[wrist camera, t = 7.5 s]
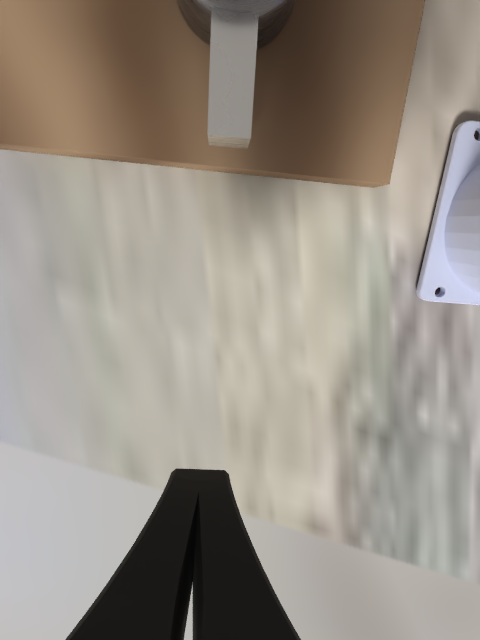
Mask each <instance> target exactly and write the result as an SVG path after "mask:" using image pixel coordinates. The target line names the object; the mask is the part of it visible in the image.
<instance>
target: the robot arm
mask: <svg viewBox="0 0 480 640" xmlns="http://www.w3.org/2000/svg"><path fill="white" fill-rule="evenodd" d="M476 130H477V131H478V132H479V138H478V140H475V138H474V133H475V131H476ZM438 287H440V293H439V294H438V295H435V291H436V289H437V288H438ZM417 295H418V297H419V298H420V299H423V300H425V301H433V302H446V303H459V304H472V305H480V121H474V120H469V121H465V122H463V123H461V124H459V125H458V126H457V127H456V128H455V130H454V132H453V135H452V140H451V144H450V148H449V153H448V157H447V161H446V165H445V170H444V174H443V178H442V183H441V187H440V191H439V196H438V200H437V204H436V208H435V213H434V217H433V221H432V226H431V230H430V234H429V239H428V243H427V247H426V251H425V256H424V260H423V264H422V269H421V273H420V277H419V282H418V286H417ZM192 582H193V640H301V639H300V638H299V636H298V634H297V632H296V631H295V629H294V627H293V625H292V624H291V622H290V620H289V618H288V616H287V614H286V613H285V611H284V609H283V607H282V605H281V604H280V601H279V600H278V597H277V595H276V594H275V592H274V590H273V588H272V586H271V584H270V582H269V580H268V577H267V575H266V573H265V572H264V569H263V567H262V565H261V563H260V561H259V558H258V556H257V554H256V552H255V549H254V547H253V545H252V542H251V540H250V538H249V535H248V533H247V531H246V528H245V526H244V523H243V520H242V518H241V515H240V512H239V509H238V507H237V504H236V501H235V498H234V494H233V491H232V487H231V483H230V479H229V474H228V473H227V472H226V471H225V470H200V469H175V470H174V471H173V472H172V473H171V475H170V478H169V480H168V483H167V485H166V487H165V489H164V491H163V494H162V495H161V497H160V499H159V501H158V503H157V505H156V507H155V509H154V510H153V512H152V514H151V516H150V518H149V519H148V521H147V523H146V524H145V526H144V528H143V529H142V531H141V533H140V534H139V536H138V538H137V539H136V541H135V543H134V544H133V546H132V547H131V549H130V550H129V552H128V553H127V555H126V556H125V558H124V559H123V561H122V563H121V564H120V565H119V567H118V568H117V570H116V571H115V573H114V574H113V576H112V577H111V579H110V580H109V582H108V583H107V585H106V586H105V587H104V589H103V590H102V592H101V593H100V594H99V596H98V597H97V599H96V600H95V601H94V603H93V604H92V606H91V607H90V608H89V610H88V611H87V612H86V614H85V615H84V616H83V618H82V619H81V620H80V621H79V623H78V624H77V625H76V627H75V628H74V629H73V631H72V632H71V633H70V635H69V636H68V637H67V638H66V640H184V633H185V627H186V621H187V614H188V608H189V601H190V595H191V589H192Z"/></svg>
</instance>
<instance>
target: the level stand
mask: <svg viewBox="0 0 480 640" xmlns="http://www.w3.org/2000/svg"><path fill="white" fill-rule="evenodd" d="M424 3H425V0H296V2H295V5H294V8H293V10H292V13H291V15H290V17H289V19H288V21H287V23H286V25H285V26H284V28H283V29H282V30H281V32H280V33H279V34H278V35H277V36H276V37H275V38H274V39H273V40H272V41H271V42H269V43H268V44H266V45H265V46H263V47H261V48H259V49H257V50H256V66H255V82H254V98H253V113H252V129H251V140H250V142H249V145H248V148H247V149H245V148H232V147H220V146H209V142H208V135H207V133H208V101H209V70H210V46H209V45H208V44H207V43H205V42H204V41H202V40H201V39H200V38H199V37H198V36H197V35H196V34H195V33H194V32H193V31H192V30H191V28H190V27H189V26H188V24H187V23H186V21H185V20H184V18H183V16H182V14H181V12H180V9H179V7H178V4H177V1H176V0H0V149H5V150H15V151H24V152H34V153H44V154H53V155H63V156H73V157H83V158H92V159H102V160H112V161H121V162H131V163H141V164H151V165H160V166H170V167H180V168H189V169H199V170H209V171H218V172H228V173H238V174H248V175H257V176H267V177H277V178H286V179H296V180H306V181H316V182H325V183H335V184H345V185H354V186H364V187H379V186H383V185H387V184H390V179H391V173H392V168H393V163H394V158H395V153H396V148H397V142H398V137H399V132H400V127H401V122H402V117H403V112H404V106H405V101H406V96H407V91H408V86H409V81H410V75H411V70H412V65H413V60H414V55H415V50H416V45H417V39H418V34H419V29H420V24H421V19H422V14H423V8H424Z"/></svg>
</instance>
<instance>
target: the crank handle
mask: <svg viewBox="0 0 480 640" xmlns="http://www.w3.org/2000/svg"><path fill="white" fill-rule="evenodd" d="M176 1H177V4H178V7H179V9H180V12H181V14H182V16H183V18H184V20H185V21H186V23H187V24H188V26H189V27H190V28H191V30H192V31H193V32H194V33H195V34H196V35H197V36H198V37H199V38H200V39H201V40H202V41H204V42H205V43H207V44H208V45H209V46H210V70H209V101H208V133H207V135H208V142H209V146H220V147H232V148H245V149H247V148H248V145H249V142H250V140H251V129H252V113H253V98H254V82H255V66H256V50H257V49H259V48H261V47H263V46H265V45H266V44H268V43H269V42H271V41H272V40H273V39H274V38H275V37H276V36H277V35H278V34H279V33H280V32H281V30H282V29H283V28H284V26H285V25H286V23H287V21H288V19H289V17H290V15H291V13H292V10H293V8H294V5H295V2H296V0H176Z"/></svg>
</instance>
